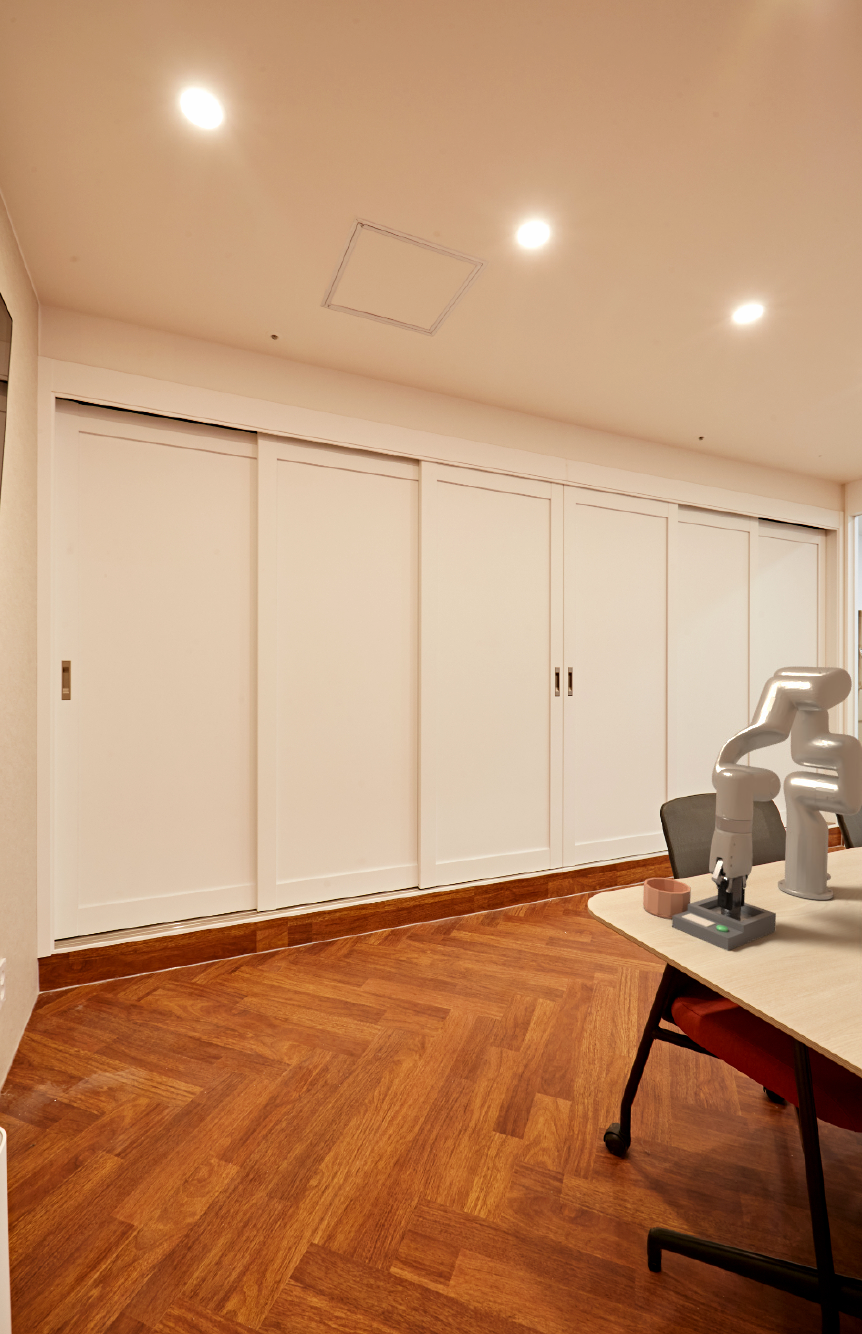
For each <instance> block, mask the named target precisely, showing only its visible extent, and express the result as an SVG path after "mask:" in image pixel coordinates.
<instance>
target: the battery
mask: <svg viewBox="0 0 862 1334" xmlns="http://www.w3.org/2000/svg"><path fill="white" fill-rule="evenodd" d="M723 875H724V876H726V874H725V873H723ZM723 881H725V883H726V884H727V880H725V879H723ZM731 892H733V905H732V910H731V911H729V910H726V909H724V908H721V914H722V915H725V916H727V917H730V918H733V919H735V920H739V919H740V918H741V893H742V876H740V877H737V878H733V881H732V888H731Z"/></svg>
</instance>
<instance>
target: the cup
mask: <svg viewBox="0 0 862 1334" xmlns="http://www.w3.org/2000/svg"><path fill="white" fill-rule="evenodd" d="M691 891H692V888H691V887H690V886H689V885H688V884H687V883H684V882H682V881H679V880H677V879H670V878H665V877H650V878H647V879H645V880H644V883H643V898H642V899H643V901H642V904H643V909H644V911H645V912H647V913H649V914H650V915H652V916H655V917H657V918H662V919H666V920H672V919H673V915H676V914H680V913H683V912H686V911H688V904H690V903H691V897H692V896H691V895H692V893H691Z"/></svg>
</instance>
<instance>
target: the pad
mask: <svg viewBox="0 0 862 1334" xmlns="http://www.w3.org/2000/svg"><path fill="white" fill-rule="evenodd" d="M710 910H711V911H714V912H717V913H719V914H721V907H716V908H713V909H710ZM751 917H754V916H752V915H750V914H747V913H744V912H741V918H740V919H739V920H738V921H743V920H746V919H749V918H751Z"/></svg>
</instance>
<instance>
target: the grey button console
mask: <svg viewBox="0 0 862 1334" xmlns="http://www.w3.org/2000/svg"><path fill="white" fill-rule="evenodd" d="M717 902H718V894H717V895H713V896H709V897H707V898H704V899H701V900H698V901H694V902H692V903H691V902H690V904H688V911H686V912H683V913H680V914H676V915H673V919H671V920H672V921H671V922H672V923H671V925H672V926H671V927H672V928H674V929H676V930H677V931H681V932H684V933H685V934H688V935H690V936H692V937H696V938H698V939H700V940H702V941H704V942H706V943H707V942H708V943H709V944H712V945H714V946H716V947H718V948H721V949H724V950H725V951H731V950H733V949H735V948H738V947H740V946H742V945H745V944H748V943H750V942H753V941H755V940H757V939H760V938H763V937H765V936H768V935H770V934H772V933H775V932H776V921H777V920H776V917H777V913H776V912H773V911H771V910H767V909H764V908H762V907H759V906H756V905H753V904H750V903H748V902H745V901H744V906H743V907H741V912H744V913H747V914H750V915H752V916H754V917H751V918H749V919H746V920H743V921H738V920H735V919H733V918H730V917H727V916H725V915H722V914H719V913H717V912H714V911H711V910H710V909H713V908H716V907H718V905H717Z"/></svg>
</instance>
